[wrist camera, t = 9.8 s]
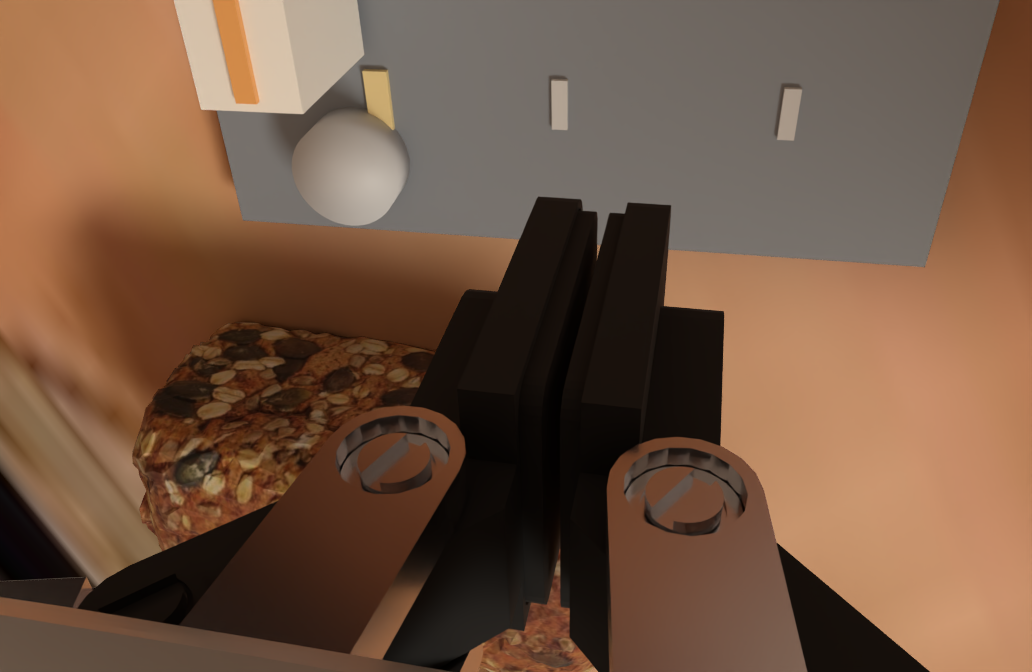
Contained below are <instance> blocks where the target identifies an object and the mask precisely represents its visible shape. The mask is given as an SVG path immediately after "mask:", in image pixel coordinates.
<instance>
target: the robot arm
mask: <svg viewBox="0 0 1032 672" xmlns="http://www.w3.org/2000/svg"><path fill="white" fill-rule="evenodd" d="M670 220H671V205H661V204H646V203H631V202H628V203H627V207H626V211H625V214H624V213H609V216H608V220H607V224H606V228H605V232H604V235H603V239H602V243H601V247H600V251H599V254H598V258H597V231H598V216H597V212H595V211H583V206H582V200H581V199H569V198H554V197H539V196H538V198H537V199H536V201H535V204H534V206H533V209H532V211H531V213H530V216H529V218H528V221H527V223H526V225H525V228H524V230H523V232H522V235H521V237H520V240H519V242H518V244H517V247H516V249H515V252H514V254H513V256H512V259H511V261H510V263H509V266H508V268H507V271H506V273H505V275H504V278H503V280H502V283H501V285H500V287H499V290H498V292H495V291H483V290H472V289H469V290H467V291H465V293H464V294H463V296H462V298H461V300H460V302H459V304H458V306H457V308H456V310H455V312H454V314H453V317H452V319H451V321H450V323H449V325H448V327H447V329H446V331H445V333H444V335H443V338H442V340H441V342H440V344H439V346H438V348H437V350H436V352H435V354H434V356H433V359H432V361H431V363H430V365H429V367H428V369H427V371H426V373H425V375H424V377H423V380H422V382H421V384H420V386H419V388H418V390H417V392H416V394H415V396H414V398H413V401H412V403H411V405H410V406H395V407H385V408H380V409H376V410H373V411H370V412H367V413H363V414H361V415H359V416H357V417H355V418H353V419H352V420H350V421H348V422H346V423H344V424H343V425H342V426H341V427H340V428H339V429H338V430H336V431H335V432H334V433H333V434H332V435H331V436H330V437H329V438H328V439H327V441H326V442H325V443H324V444H323V446H322V447H321V448H320V449H319V451H318V452H317V453H316V454H315V456H314V457H313V458H312V459H311V461H310V462H309V463H308V464H307V466H306V467H305V468H304V469H303V471H302V472H301V473H300V474H299V476H298V477H297V478H296V479H295V481H294V482H293V483H292V484H291V486H290V487H289V488H288V489H287V491H286V492H285V493H284V494H283V496H282V497H281V498H280V499H279V500H278V501H276V502H274V503H271V504H269V505H267V506H265V507H262V508H260V509H258V510H255V511H253V512H251V513H249V514H246V515H244V516H242V517H240V518H237V519H235V520H233V521H230V522H228V523H226V524H224V525H221V526H219V527H217V528H214V529H212V530H210V531H208V532H205V533H203V534H201V535H198V536H196V537H194V538H192V539H189V540H187V541H185V542H182V543H180V544H178V545H176V546H173V547H171V548H169V549H167V550H164V551H162V552H160V553H157V554H155V555H153V556H151V557H148V558H146V559H144V560H141V561H139V562H137V563H135V564H132V565H130V566H128V567H126V568H125V569H123V570H121V571H119V572H117V573H116V574H114V575H112V576H110V577H108V578H107V579H105V580H104V581H103V582H102V583H101V584H100V585H98V586H97V587H96V588H91V585H90V583H89V581H88V579H87V577H77V578H57V579H37V580H17V581H0V672H478V670H479V667H480V664H481V660H482V656H483V643H484V642H486V641H488V640H490V639H491V638H493V637H495V636H497V635H498V634H500V633H502V632H504V631H505V630H507V629H514V630H520V631H524V630H525V626H526V622H527V618H528V613H529V609H530V605H531V603H537V604H544V605H546V604H547V602H548V600H549V596H550V591H551V587H552V582H553V578H554V573H555V568H556V564H557V559H558V555H559V550H560V604H561V607H563V608H570V622H569V637H570V638H571V639H572V641H573V642H574V643H575V644H576V645H577V647H578V648H579V649H580V650H581V651H582V653H583V654H584V655H585V656H586V657H587V659H588V660H589V661H590V662H591V663H592V665H593V666H594V667H595V668H596V669H597V671H598V672H930V671H928V670H927V669H926V668H925V667H924V666H922V665H921V664H920V663H919V662H918V661H917V660H915V659H914V658H913V657H912V656H911V655H909V654H908V653H907V652H906V651H905V650H903V649H902V648H901V647H900V646H899V645H898V644H896V643H895V642H894V641H893V640H892V639H890V638H889V637H888V636H887V635H886V634H884V633H883V632H882V631H881V630H880V629H879V628H877V627H876V626H875V625H874V624H873V623H871V622H870V621H869V620H868V619H867V618H865V617H864V616H863V615H862V614H861V613H860V612H858V611H857V610H856V609H855V608H854V607H852V606H851V605H850V604H849V603H848V602H846V601H845V600H844V599H843V598H842V597H841V596H839V595H838V594H837V593H836V592H835V591H833V590H832V589H831V588H830V587H829V586H828V585H826V584H825V583H824V582H823V581H822V580H820V579H819V578H818V577H817V576H816V575H814V574H813V573H812V572H811V571H810V570H809V569H807V568H806V567H805V566H804V565H803V564H801V563H800V562H799V561H798V560H797V559H795V558H794V557H793V556H792V555H791V554H790V553H788V552H787V551H786V550H785V549H784V548H782V547H781V546H780V545H779V544H778V543H776V539H775V535H774V530H773V526H772V522H771V518H770V514H769V509H768V505H767V501H766V497H765V493H764V490H763V487H762V485H761V483H760V481H759V479H758V476H757V474H756V473H755V472H754V471H753V470H752V469H751V468H750V467H749V465H748V464H747V463H746V462H745V461H744V460H743V459H742V458H740V457H739V456H737V455H735V454H734V453H732V452H730V451H729V450H727V449H725V448H724V447H722V446H720V438H721V405H722V372H723V339H724V311H713V310H702V309H690V308H679V307H667V306H664V296H665V283H666V271H667V258H668V246H669V233H670Z"/></svg>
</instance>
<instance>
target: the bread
mask: <svg viewBox="0 0 1032 672" xmlns="http://www.w3.org/2000/svg"><path fill="white" fill-rule="evenodd" d="M434 354H435V352H434V351H428V350H424V349H420V348H416V347H412V346H408V345H404V344H399V343H392V342H386V341H379V340H374V339H370V338H366V337H356V338H346V337H338V336H335V335H332V334H329V333H321V334H317V335H316V334H313V333H311V332H308V331H306V330H294V331H287V330H284V329H282V328H275V327H267V326H263V325H261V324H259V323H246V322H239V323H233V324H230V323H228V324H226V325H225V326H223V327H222V328H220V329H218V330H217V331H216V332H215V333H214V334H213V335H212V336H211V337H210V340H209V341H208V342H201V343H200V346H199V345H193V347H192V350H191V352H190V354H186V356H185V358H184V360H183V362H182V363H181V364H180V365H179V366H178V368H175V370H174V371H173V373H172V374H171V376H170V377H169V379H168V380H167V383H166V385H165V386H164V388H162V389H158V391H157V392H156V394H155V395H154V396H153V401H152V402H151V403H150V404H149V405H148V406H147V408H146V410H145V413H144V417H143V421H142V425H141V428H140V432H139V434H138V437H137V440H136V443H135V446H134V449H133V455H132V457H133V464H134V466H135V467H136V468H137V469H138V470H139V475H140V478H141V480H142V482H143V484H144V486H145V488H146V493H145V495H144V498H143V501H142V503H141V506H140V514H141V518H142V523H146V524H147V526H148V528H149V529H150V530H151V531H152V532H153V533H154V534H155V535H156V536H157V537H158V540H159V546H160V548H161V549H162V551H164V550H167V549H169V548H171V547H173V546H176V545H178V544H180V543H182V542H185V541H187V540H189V539H192V538H194V537H196V536H198V535H201V534H203V533H205V532H208V531H210V530H212V529H214V528H217V527H219V526H221V525H224V524H226V523H228V522H230V521H233V520H235V519H237V518H240V517H242V516H244V515H246V514H249V513H251V512H253V511H255V510H258V509H260V508H262V507H265V506H267V505H269V504H271V503H274V502H276V501H278V500H279V499H280V498H281V497H282V496H283V494H284V493H285V492H286V491H287V489H288V488H289V487H290V486H291V484H292V483H293V482H294V481H295V479H296V478H297V477H298V476H299V474H300V473H301V472H302V471H303V469H304V468H305V467H306V466H307V464H308V463H309V462H310V461H311V459H312V458H313V457H314V456H315V454H316V453H317V452H318V451H319V449H320V448H321V447H322V446H323V444H324V443H325V442H326V441H327V439H328V438H329V437H330V436H331V435H332V434H333V433H334V432H335V431H336V430H338V429H339V428H340V427H341V426H342V425H343V424H344V423H346V422H348V421H350V420H352V419H353V418H355V417H357V416H359V415H361V414H363V413H367V412H370V411H373V410H376V409H380V408H385V407H395V406H410V405H411V403H412V401H413V398H414V396H415V394H416V392H417V390H418V388H419V386H420V384H421V382H422V380H423V377H424V375H425V373H426V371H427V369H428V367H429V365H430V363H431V361H432V359H433V356H434ZM569 622H570V608H563V607H561V604H560V550H559V555H558V559H557V564H556V568H555V573H554V578H553V582H552V587H551V591H550V596H549V600H548V602H547V604H546V605H544V604H537V603H531V605H530V609H529V613H528V618H527V622H526V626H525V630H524V631H520V630H514V629H507V630H505V631H504V632H502V633H500V634H498V635H497V636H495V637H493V638H491V639H490V640H488V641H486V642H484V643H483V656H482V660H481V664H480V667H479V668H484V669H486V670H488V671H490V672H588V671H590V670H591V669H592V668H594V666H593V665H592V663H591V662H590V661H589V660H588V659H587V657H586V656H585V655H584V654H583V653H582V651H581V650H580V649H579V648H578V647H577V645H576V644H575V643H574V642H573V641H572V639H571V638H570V637H569Z"/></svg>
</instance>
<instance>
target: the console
mask: <svg viewBox="0 0 1032 672" xmlns="http://www.w3.org/2000/svg"><path fill="white" fill-rule="evenodd" d="M999 1H1000V0H357V3H358V11H359V18H360V26H361V33H362V41H363V48H364V56H363V57H361V58H360V59H359V60H358V61H357V62H356V63H355V64H354V65H353V66H352V67H351V68H350V69H349V70H348V71H347V72H346V73H345V74H344V75H343V76H342V77H341V78H340V79H339V80H338V81H337V82H336V83H335V84H334V85H333V86H332V87H331V88H330V89H329V90H328V91H327V92H326V93H324V94H323V95H322V96H321V97H320V98H319V99H318V100H317V101H316V102H315V103H314V104H313V105H312V106H311V107H310V108H309V109H308V110H307V111H306V112H305V113H304V114H287V113H265V112H243V111H221V110H217V114H218V118H219V123H220V127H221V131H222V135H223V139H224V143H225V147H226V152H227V156H228V160H229V164H230V168H231V172H232V177H233V181H234V185H235V189H236V193H237V197H238V202H239V206H240V210H241V214H242V218H243V220H246V221H261V222H275V223H290V224H304V225H319V226H334V227H348V228H363V229H377V230H392V231H407V232H421V233H436V234H450V235H465V236H479V237H494V238H509V239H520V237H521V235H522V232H523V230H524V228H525V225H526V223H527V221H528V218H529V216H530V213H531V211H532V209H533V206H534V204H535V201H536V199H537V198H538V196H539V197H554V198H569V199H581V200H582V206H583V211H595V212H597V216H598V231H597V245H601V243H602V239H603V235H604V232H605V228H606V224H607V220H608V216H609V213H624V214H625V211H626V207H627V203H628V202H631V203H646V204H661V205H671V220H670V233H669V246H668V249H669V250H684V251H698V252H713V253H727V254H742V255H757V256H771V257H786V258H800V259H815V260H829V261H844V262H859V263H873V264H888V265H902V266H917V267H925V265H926V261H927V258H928V254H929V251H930V247H931V244H932V240H933V236H934V233H935V229H936V226H937V222H938V219H939V215H940V211H941V208H942V204H943V201H944V197H945V194H946V190H947V186H948V183H949V179H950V176H951V172H952V169H953V165H954V161H955V158H956V154H957V151H958V147H959V144H960V140H961V136H962V133H963V129H964V126H965V122H966V119H967V115H968V112H969V108H970V104H971V101H972V97H973V94H974V90H975V87H976V83H977V79H978V76H979V72H980V69H981V65H982V62H983V58H984V54H985V51H986V47H987V44H988V40H989V37H990V33H991V29H992V26H993V22H994V19H995V15H996V12H997V8H998V4H999Z"/></svg>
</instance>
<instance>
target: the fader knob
mask: <svg viewBox="0 0 1032 672" xmlns="http://www.w3.org/2000/svg"><path fill="white" fill-rule="evenodd" d="M174 3H175V7H176V11H177V15H178V19H179V23H180V27H181V31H182V35H183V39H184V43H185V47H186V51H187V55H188V59H189V63H190V67H191V71H192V75H193V79H194V83H195V87H196V91H197V95H198V99H199V103H200V107H201V110H221V111H243V112H265V113H287V114H304V113H305V112H306V111H307V110H308V109H309V108H310V107H311V106H312V105H313V104H314V103H315V102H316V101H317V100H318V99H319V98H320V97H321V96H322V95H323V94H324V93H326V92H327V91H328V90H329V89H330V88H331V87H332V86H333V85H334V84H335V83H336V82H337V81H338V80H339V79H340V78H341V77H342V76H343V75H344V74H345V73H346V72H347V71H348V70H349V69H350V68H351V67H352V66H353V65H354V64H355V63H356V62H357V61H358V60H359V59H360V58H361V57H363V56H364V48H363V41H362V33H361V26H360V18H359V11H358V3H357V0H174Z"/></svg>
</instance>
